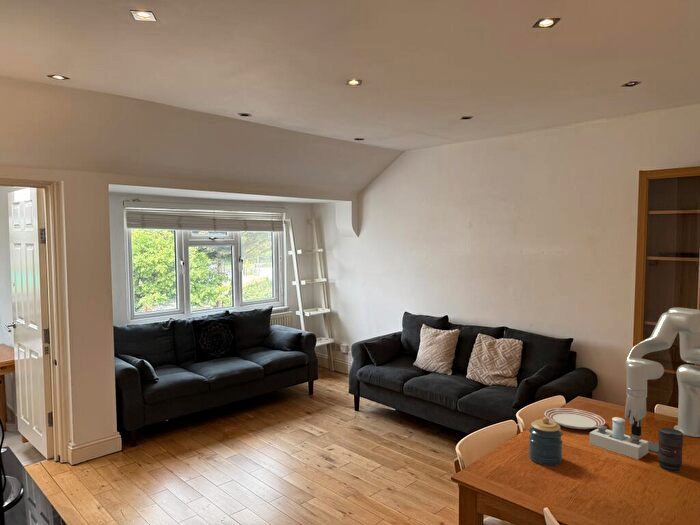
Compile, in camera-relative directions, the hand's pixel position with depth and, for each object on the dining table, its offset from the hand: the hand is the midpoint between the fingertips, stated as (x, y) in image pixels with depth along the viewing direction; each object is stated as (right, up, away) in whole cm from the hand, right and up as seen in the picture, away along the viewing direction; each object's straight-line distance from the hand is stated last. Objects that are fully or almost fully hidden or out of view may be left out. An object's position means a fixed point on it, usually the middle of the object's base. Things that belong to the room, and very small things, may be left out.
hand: (636, 434), depth 205 cm
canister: (-40, -9, -4) cm, 41 cm away
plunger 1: (-9, -6, +11) cm, 16 cm away
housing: (-5, -8, +6) cm, 11 cm away
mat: (+10, -8, +7) cm, 14 cm away
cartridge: (-5, -8, +6) cm, 11 cm away
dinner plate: (-10, -7, +36) cm, 38 cm away
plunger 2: (0, -7, 0) cm, 7 cm away
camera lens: (+6, -9, -13) cm, 17 cm away
